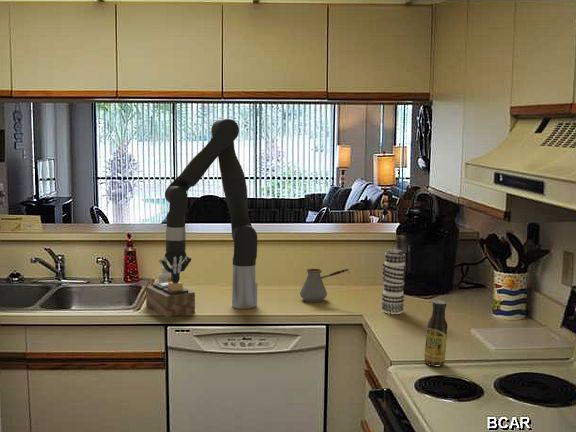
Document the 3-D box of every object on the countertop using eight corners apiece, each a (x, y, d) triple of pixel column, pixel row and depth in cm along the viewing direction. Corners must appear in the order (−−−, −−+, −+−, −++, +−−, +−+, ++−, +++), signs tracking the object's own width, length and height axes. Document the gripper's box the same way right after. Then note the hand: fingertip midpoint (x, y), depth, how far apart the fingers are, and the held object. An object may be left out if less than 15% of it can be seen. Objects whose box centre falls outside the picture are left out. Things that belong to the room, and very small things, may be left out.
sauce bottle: (420, 364, 207) (423, 301, 204) (429, 359, 212) (432, 298, 209) (440, 369, 203) (443, 305, 200) (448, 363, 208) (452, 301, 205)
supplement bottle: (176, 295, 285) (177, 265, 283) (172, 298, 278) (172, 268, 276) (161, 294, 285) (161, 264, 284) (157, 298, 279) (157, 267, 277)
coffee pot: (295, 301, 279) (296, 266, 277) (306, 295, 289) (307, 261, 287) (343, 308, 270) (344, 271, 268) (352, 301, 280) (354, 266, 278)
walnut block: (173, 302, 272) (173, 280, 271) (194, 312, 258) (194, 289, 257) (146, 306, 265) (146, 284, 264) (166, 317, 251) (166, 293, 250)
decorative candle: (403, 316, 260) (406, 252, 257) (379, 314, 262) (382, 251, 259) (405, 310, 269) (407, 248, 266) (381, 308, 271) (384, 247, 268)
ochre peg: (177, 301, 260) (177, 281, 259) (182, 303, 257) (182, 283, 256) (168, 302, 258) (168, 282, 257) (173, 304, 255) (173, 284, 254)
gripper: (164, 240, 248) (163, 286, 250) (195, 238, 255) (195, 282, 258) (155, 238, 254) (155, 282, 256) (186, 235, 261) (186, 278, 264)
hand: (175, 282), depth 257 cm, fingers closed
